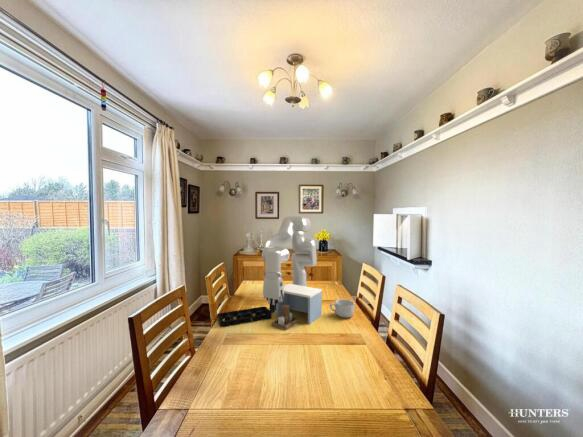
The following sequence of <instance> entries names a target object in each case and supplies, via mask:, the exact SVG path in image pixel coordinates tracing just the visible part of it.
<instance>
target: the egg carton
mask: <svg viewBox="0 0 583 437" xmlns="http://www.w3.org/2000/svg"><path fill="white" fill-rule="evenodd" d="M272 314H273V313H270V309H269V308H268V307H267V306H258V307H252V308H244V309H239V310H230V311H226V312H219V313H217V314H216V318H217V321H218V322H219V326H220V327H221V328H226V327H230V326H238V325H241V323H242V324H249V323H252V322H254V323H255V322H260V321H262V320H264V321H267V320H271V319H272ZM234 317H235V318H234Z"/></svg>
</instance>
